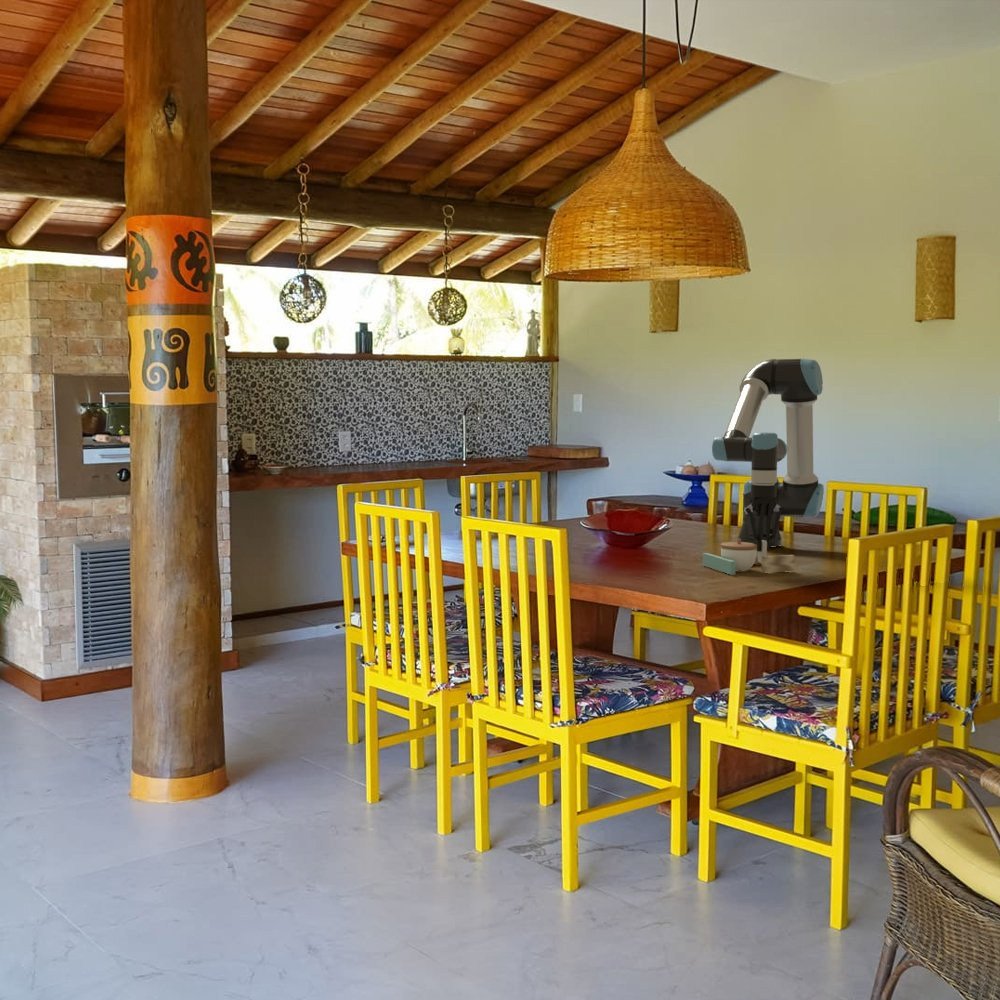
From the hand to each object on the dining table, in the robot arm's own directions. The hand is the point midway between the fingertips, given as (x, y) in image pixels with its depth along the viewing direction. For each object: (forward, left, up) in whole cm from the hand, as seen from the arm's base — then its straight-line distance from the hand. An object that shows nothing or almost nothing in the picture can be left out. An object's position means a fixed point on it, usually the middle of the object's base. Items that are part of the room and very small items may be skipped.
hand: (762, 561), depth 352 cm
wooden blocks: (-1, 0, -2) cm, 2 cm away
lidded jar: (+8, 0, -2) cm, 8 cm away
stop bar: (+15, 0, -2) cm, 15 cm away
